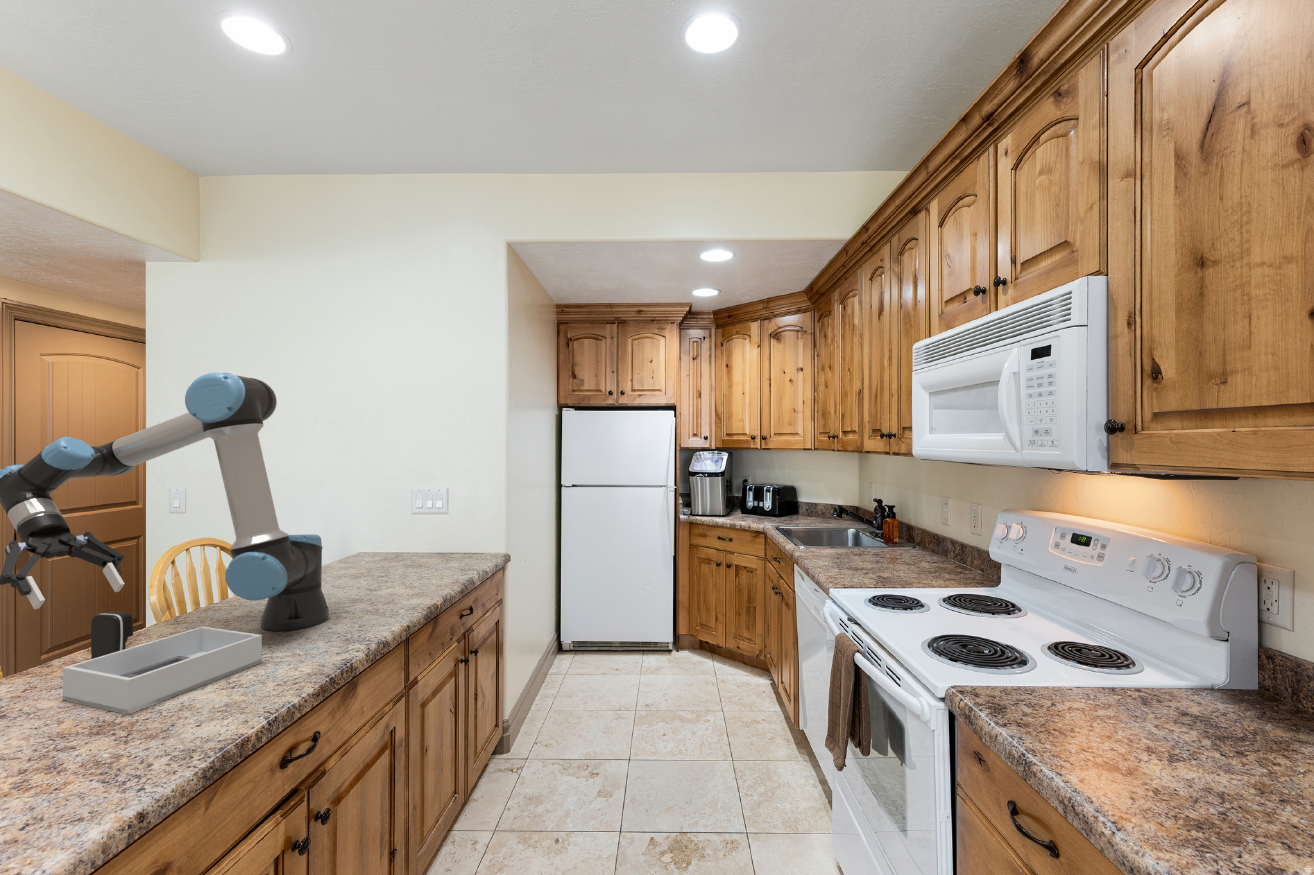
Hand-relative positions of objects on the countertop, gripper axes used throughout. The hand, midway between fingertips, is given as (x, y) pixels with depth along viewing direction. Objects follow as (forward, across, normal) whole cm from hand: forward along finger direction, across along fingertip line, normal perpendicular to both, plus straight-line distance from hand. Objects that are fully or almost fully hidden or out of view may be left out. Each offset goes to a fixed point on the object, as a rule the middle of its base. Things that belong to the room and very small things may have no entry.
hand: (82, 596), depth 122 cm
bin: (+30, +1, +11) cm, 32 cm away
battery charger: (+17, 0, -3) cm, 18 cm away
